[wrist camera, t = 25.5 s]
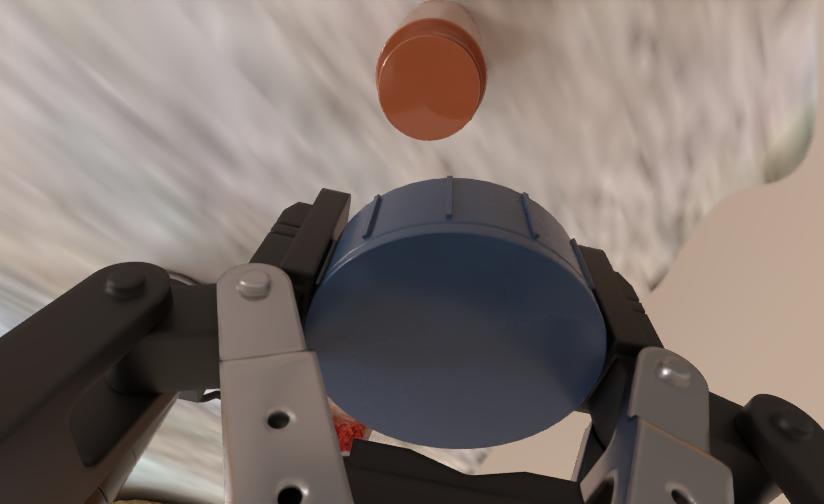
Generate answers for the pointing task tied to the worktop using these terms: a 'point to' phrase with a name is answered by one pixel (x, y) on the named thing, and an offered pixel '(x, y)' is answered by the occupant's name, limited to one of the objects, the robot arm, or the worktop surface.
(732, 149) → the worktop surface
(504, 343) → the lid
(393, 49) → the jar
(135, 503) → the brown rounded block
